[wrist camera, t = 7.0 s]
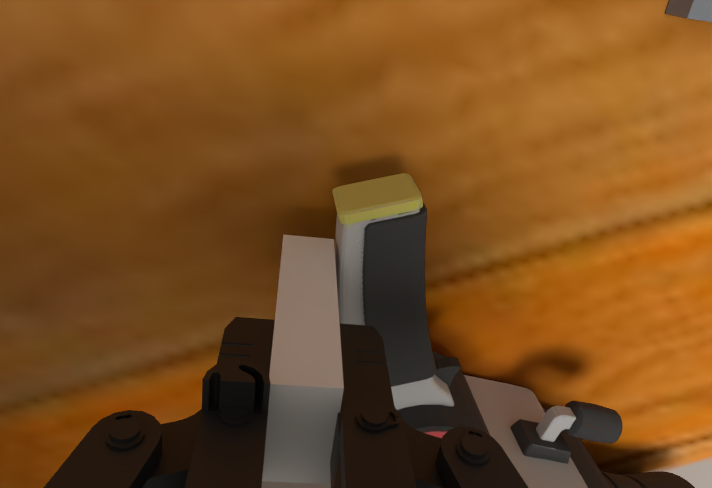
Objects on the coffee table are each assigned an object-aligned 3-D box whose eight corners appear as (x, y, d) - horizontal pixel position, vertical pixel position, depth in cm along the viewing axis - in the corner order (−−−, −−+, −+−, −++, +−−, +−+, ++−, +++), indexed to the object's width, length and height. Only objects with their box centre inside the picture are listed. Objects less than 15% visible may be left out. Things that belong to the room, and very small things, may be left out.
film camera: (774, 272, 24) (588, 522, 30) (318, 124, 19) (203, 459, 25) (949, 389, 18) (670, 675, 24) (340, 213, 13) (179, 633, 18)
